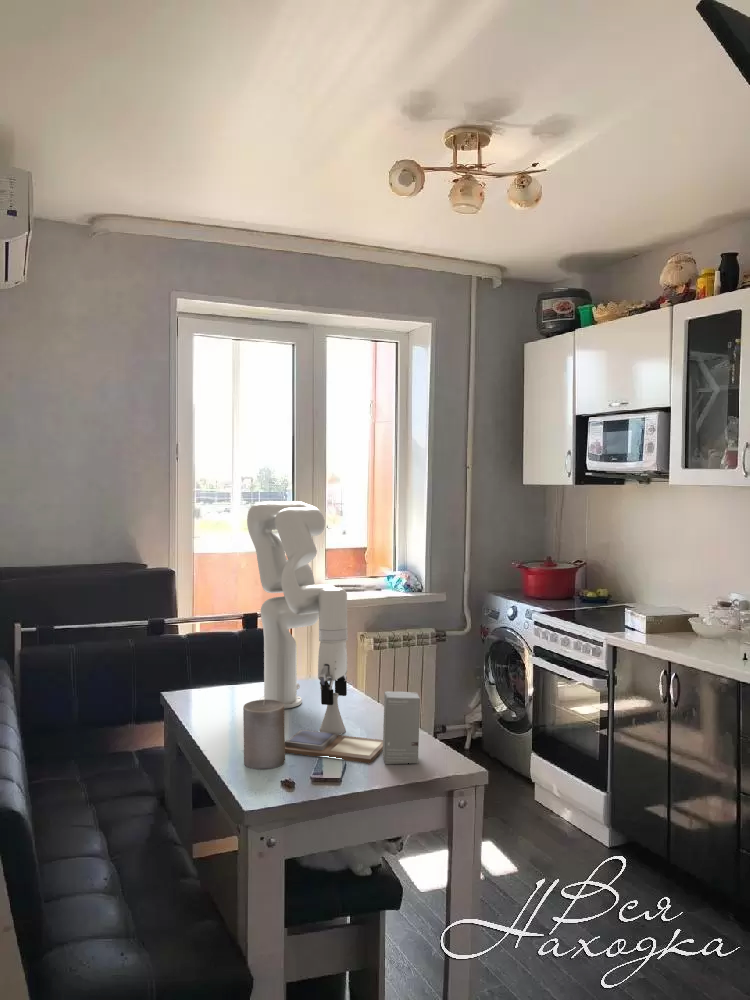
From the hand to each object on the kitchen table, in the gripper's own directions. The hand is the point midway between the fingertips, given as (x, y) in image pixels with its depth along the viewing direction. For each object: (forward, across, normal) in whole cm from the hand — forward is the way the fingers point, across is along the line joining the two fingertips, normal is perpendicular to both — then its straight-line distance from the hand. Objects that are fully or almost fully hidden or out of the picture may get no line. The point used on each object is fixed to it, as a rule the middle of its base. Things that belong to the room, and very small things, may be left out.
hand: (334, 699), depth 214 cm
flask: (+9, -1, -1) cm, 9 cm away
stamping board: (+9, +11, +4) cm, 15 cm away
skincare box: (+10, +13, +22) cm, 28 cm away
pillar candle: (+9, +26, -8) cm, 28 cm away
